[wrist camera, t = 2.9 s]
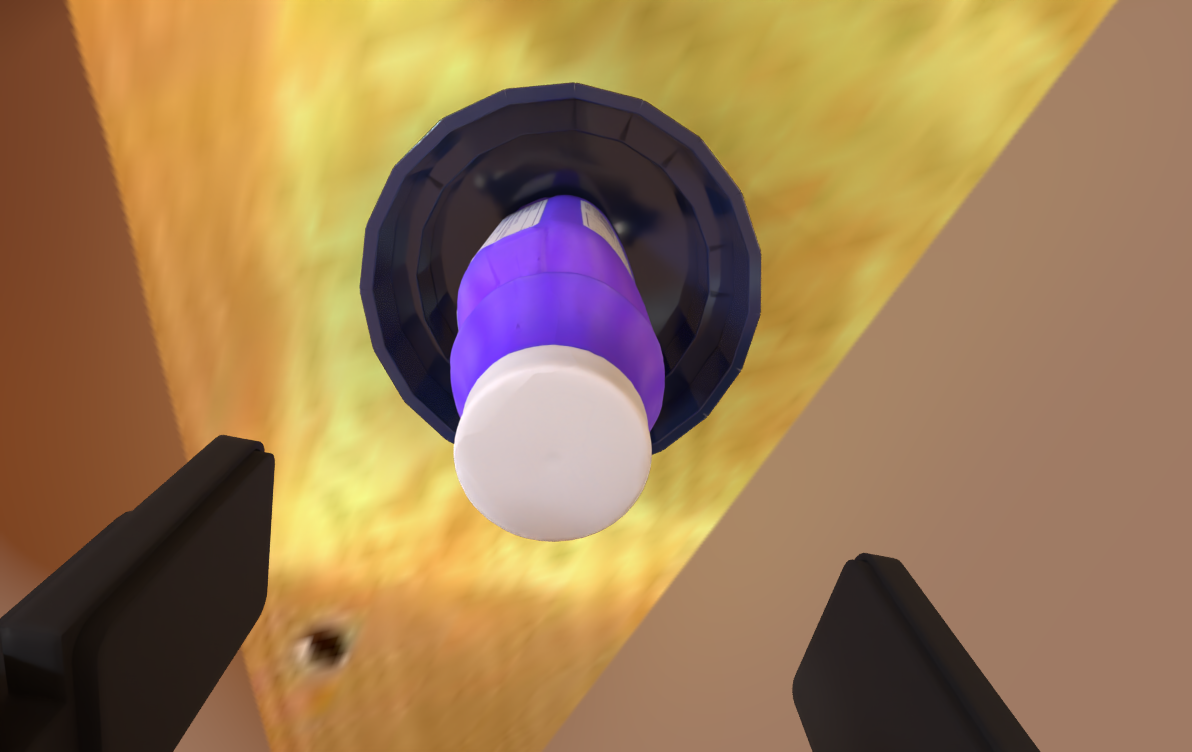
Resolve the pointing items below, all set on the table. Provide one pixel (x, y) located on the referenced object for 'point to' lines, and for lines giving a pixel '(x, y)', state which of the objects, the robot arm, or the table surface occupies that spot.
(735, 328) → the navy blue bowl
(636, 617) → the table surface
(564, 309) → the bottle
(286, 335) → the table surface
